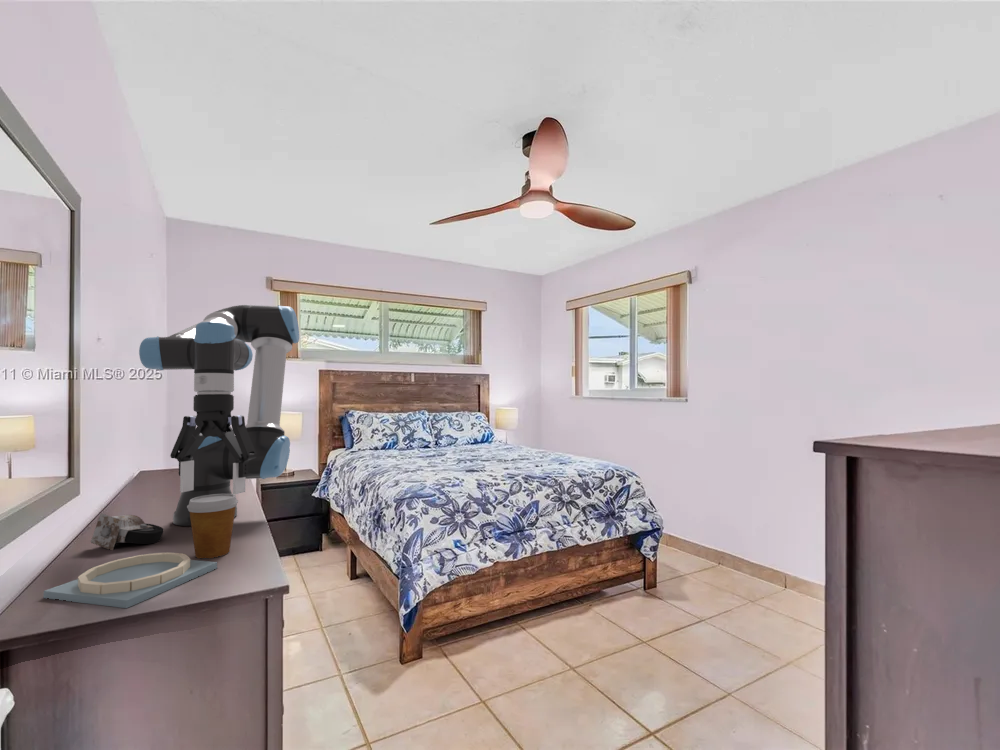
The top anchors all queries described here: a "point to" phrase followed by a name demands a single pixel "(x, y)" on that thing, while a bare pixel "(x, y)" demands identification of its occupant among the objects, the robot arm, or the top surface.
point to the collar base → (131, 579)
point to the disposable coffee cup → (212, 523)
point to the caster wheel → (124, 531)
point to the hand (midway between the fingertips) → (212, 492)
